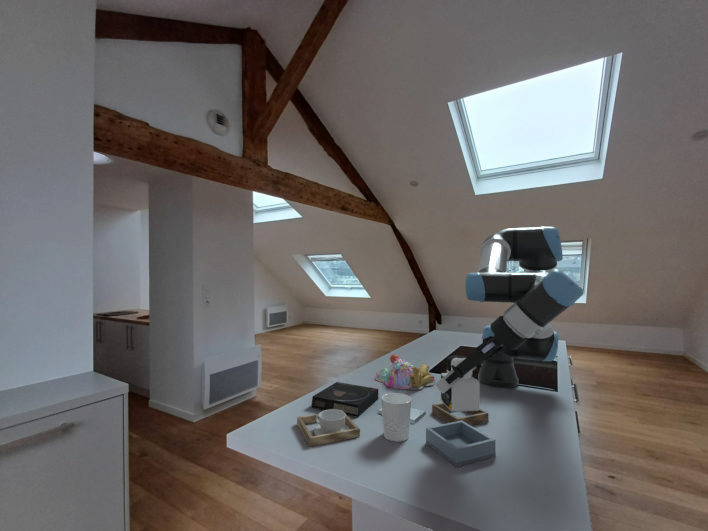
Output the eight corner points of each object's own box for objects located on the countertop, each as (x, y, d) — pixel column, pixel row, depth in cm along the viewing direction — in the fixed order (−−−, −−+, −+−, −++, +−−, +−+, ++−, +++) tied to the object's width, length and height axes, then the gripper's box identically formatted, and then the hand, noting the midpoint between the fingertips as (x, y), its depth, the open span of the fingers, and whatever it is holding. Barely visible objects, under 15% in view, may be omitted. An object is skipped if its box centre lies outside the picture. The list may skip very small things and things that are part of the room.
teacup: (355, 427, 94) (355, 410, 94) (341, 443, 84) (341, 425, 85) (323, 421, 97) (323, 405, 97) (306, 436, 88) (307, 418, 88)
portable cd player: (311, 409, 107) (311, 396, 107) (336, 392, 122) (336, 381, 122) (357, 419, 100) (357, 406, 100) (378, 400, 115) (378, 388, 115)
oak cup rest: (341, 416, 100) (341, 409, 100) (359, 436, 88) (359, 428, 88) (297, 424, 95) (297, 416, 95) (310, 446, 82) (310, 438, 82)
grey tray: (461, 434, 89) (461, 420, 90) (495, 456, 79) (495, 440, 79) (426, 442, 85) (426, 427, 85) (456, 466, 74) (456, 449, 74)
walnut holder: (461, 407, 108) (461, 399, 108) (488, 421, 98) (488, 413, 98) (432, 412, 104) (432, 404, 104) (457, 428, 93) (457, 419, 93)
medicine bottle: (440, 400, 85) (440, 353, 86) (467, 400, 86) (467, 353, 86) (450, 412, 78) (450, 360, 79) (480, 411, 79) (479, 360, 79)
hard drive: (425, 410, 103) (390, 401, 110) (414, 420, 96) (377, 409, 103) (425, 416, 103) (390, 406, 110) (414, 425, 96) (377, 414, 103)
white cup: (410, 444, 84) (410, 404, 84) (379, 441, 85) (379, 402, 86) (411, 430, 92) (411, 394, 92) (383, 427, 93) (383, 391, 93)
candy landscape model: (442, 379, 139) (442, 357, 139) (422, 396, 119) (422, 370, 120) (389, 369, 153) (389, 349, 153) (363, 383, 133) (363, 360, 133)
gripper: (517, 348, 65) (440, 410, 73) (535, 333, 82) (471, 384, 91) (489, 318, 68) (418, 381, 77) (512, 310, 86) (453, 362, 95)
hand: (447, 383), depth 84 cm, fingers closed on medicine bottle, 10 cm apart
